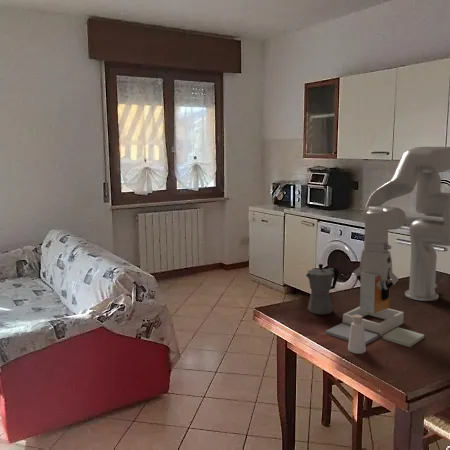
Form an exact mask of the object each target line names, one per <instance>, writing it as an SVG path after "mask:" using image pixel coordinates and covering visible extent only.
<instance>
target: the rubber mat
mask: <svg viewBox="0 0 450 450" xmlns="http://www.w3.org/2000/svg"><path fill="white" fill-rule="evenodd" d="M424 338H425V334H423V333H419V332H417V331H413V330H409V329H405V328H402V327H399V326H397V327H396V328H394V329H392V330H391V331H389V332H387V333H385V334H384V335H382V340H385V341H389V342H392V343H395V344H398V345H401V346H405V347H408V348H412V347H413V346H414V345H415V344H417V343H419V342H420V341H421V340H423V339H424Z"/></svg>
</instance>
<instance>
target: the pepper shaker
mask: <svg viewBox="0 0 450 450" xmlns="http://www.w3.org/2000/svg"><path fill="white" fill-rule="evenodd" d="M362 319H364V317H362V316H361V315H353V323H351V329H350V336H349V341H348V345H347V350H348V351H349V352H350V353H353V354H355V355H356V354H358V355H359V354H360V355H362V354H364V353H366V352H367V349H366V348H367V347H366V345H365V333H364V325H363V323H362Z"/></svg>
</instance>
